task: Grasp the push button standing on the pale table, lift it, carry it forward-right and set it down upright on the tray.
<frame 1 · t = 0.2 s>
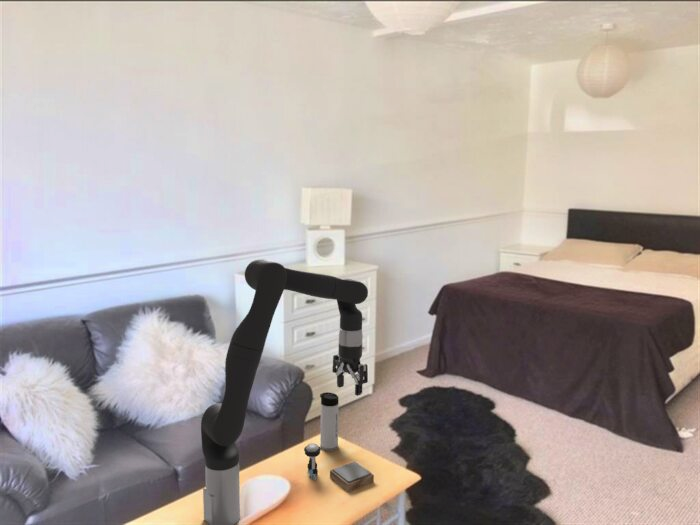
hand: (349, 390, 180), 28 cm above the table, fingers open, 8 cm apart
tray: (351, 479, 180), on the table
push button: (312, 476, 182), on the table
travel mug: (328, 447, 201), on the table
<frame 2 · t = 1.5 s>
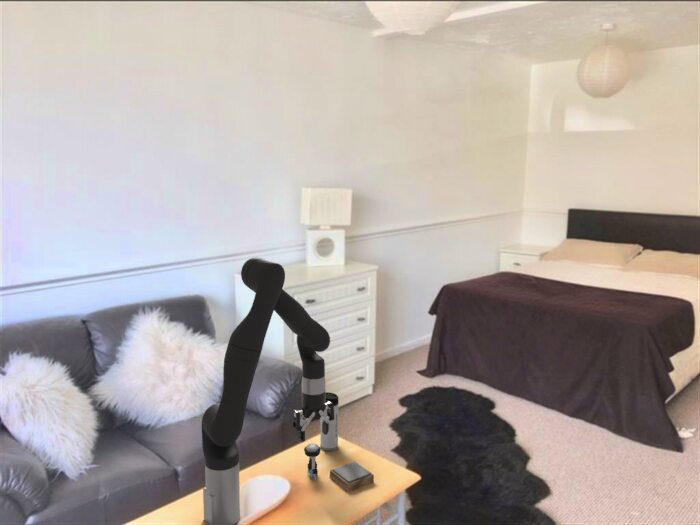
hand: (313, 437, 180), 13 cm above the table, fingers open, 8 cm apart
nothing on the table moved.
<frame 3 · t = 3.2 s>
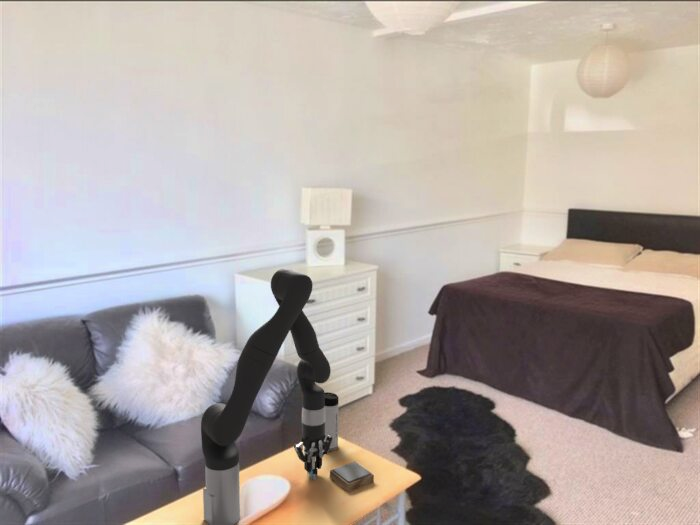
hand: (313, 469, 182), 2 cm above the table, fingers closed on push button, 3 cm apart
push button: (312, 476, 182), on the table, touching gripper
everything else where it was.
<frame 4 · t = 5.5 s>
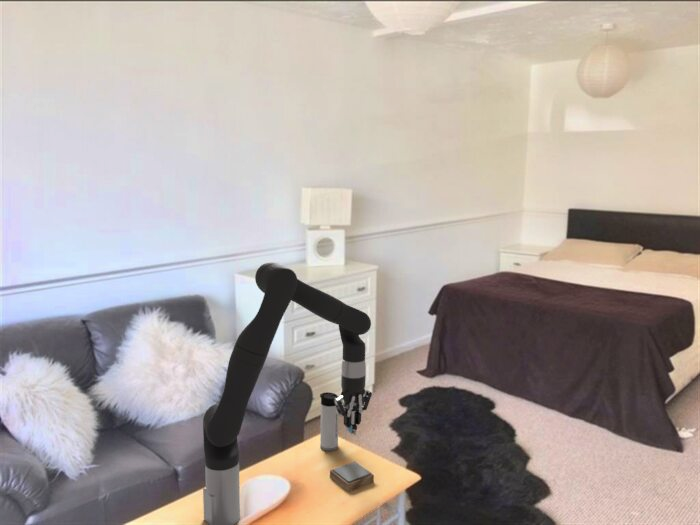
hand: (352, 424, 177), 19 cm above the table, fingers closed on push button, 3 cm apart
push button: (351, 432, 177), point 16 cm above the table, touching gripper
everything else where it was.
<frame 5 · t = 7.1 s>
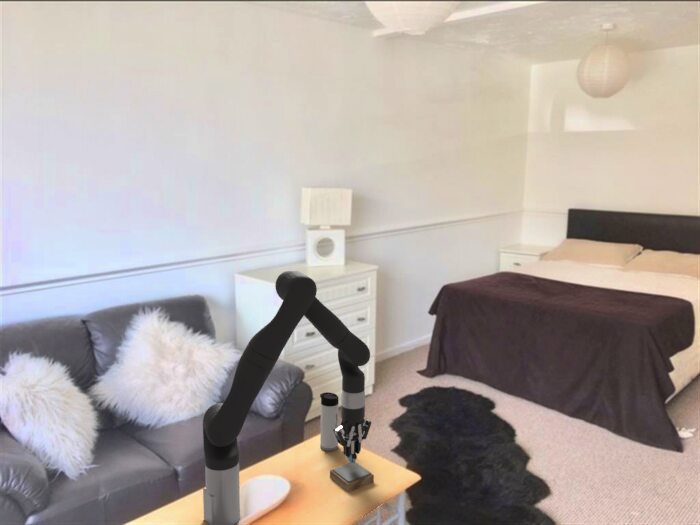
hand: (352, 454, 179), 9 cm above the table, fingers closed on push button, 3 cm apart
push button: (351, 461, 179), point 6 cm above the table, touching gripper
everything else where it was.
when the fingers open (7 cm above the table, at t = 8.0 s): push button drops 1 cm, resting on tray.
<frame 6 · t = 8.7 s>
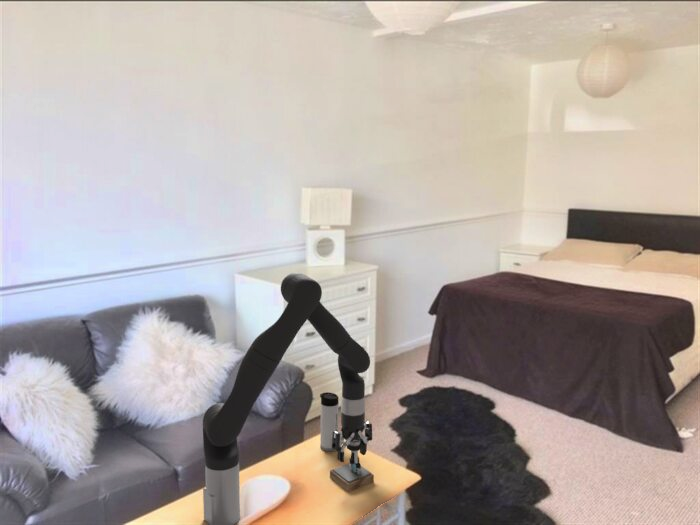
hand: (352, 457, 179), 8 cm above the table, fingers open, 8 cm apart
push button: (355, 470, 180), point 3 cm above the table, touching gripper, tray
everything else where it was.
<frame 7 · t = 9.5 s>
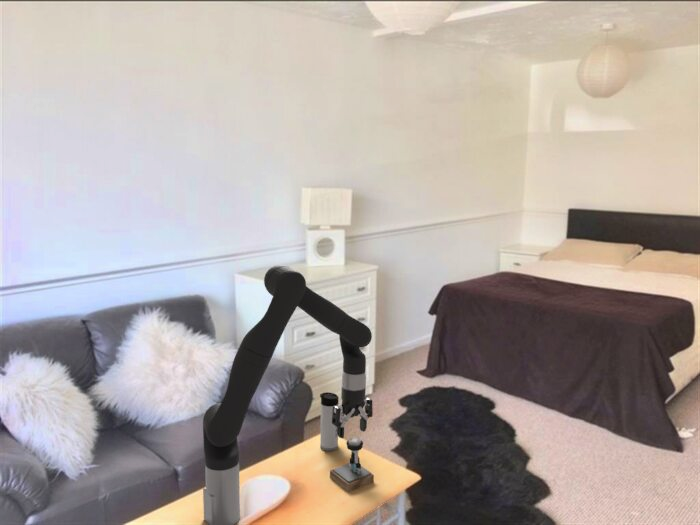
hand: (351, 433, 178), 16 cm above the table, fingers open, 8 cm apart
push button: (355, 470, 180), point 3 cm above the table, touching tray
everything else where it was.
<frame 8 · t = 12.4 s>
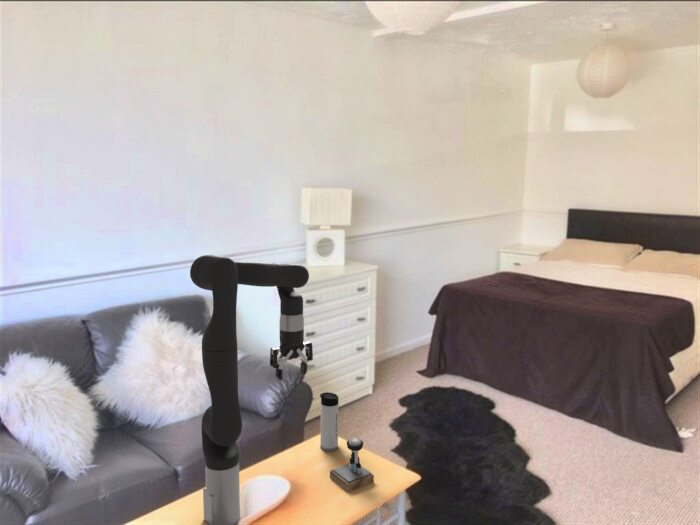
hand: (291, 376, 178), 33 cm above the table, fingers open, 8 cm apart
nothing on the table moved.
at the end: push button inside the target area on the tray (1.3 cm from its centre), point 2.8 cm above the tray's base; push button tilted 0°; the gripper is holding nothing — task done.
